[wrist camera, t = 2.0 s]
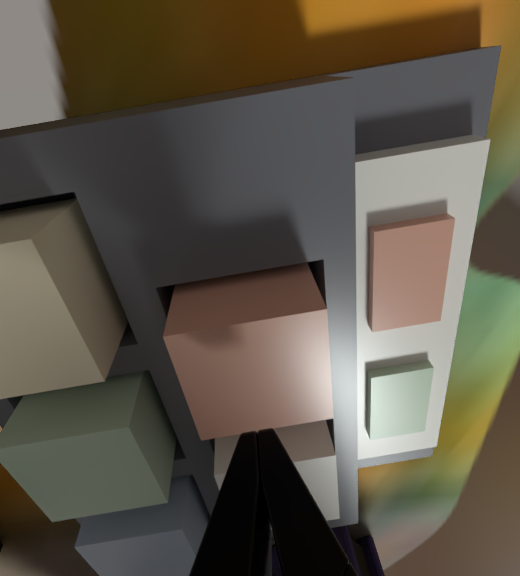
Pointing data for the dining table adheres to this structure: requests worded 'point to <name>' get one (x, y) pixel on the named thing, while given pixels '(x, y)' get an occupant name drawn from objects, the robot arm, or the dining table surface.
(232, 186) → the keypad console
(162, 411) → the key sage
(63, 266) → the key sand
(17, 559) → the dining table surface
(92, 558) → the key slate
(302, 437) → the light grey key
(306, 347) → the key terracotta
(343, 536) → the book
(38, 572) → the dining table surface
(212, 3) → the dining table surface
